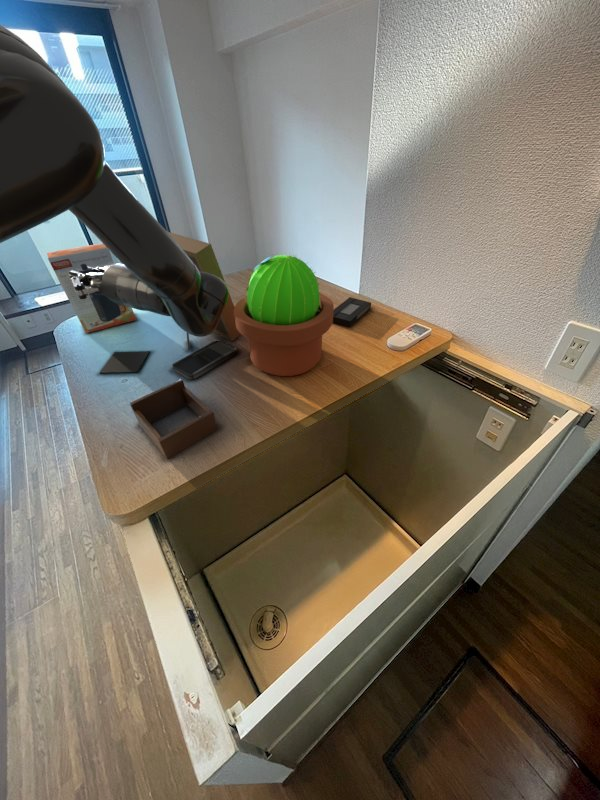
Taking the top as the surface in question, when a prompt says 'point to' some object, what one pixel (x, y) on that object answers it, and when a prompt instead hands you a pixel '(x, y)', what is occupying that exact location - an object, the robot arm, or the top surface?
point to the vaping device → (102, 302)
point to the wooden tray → (166, 403)
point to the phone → (204, 359)
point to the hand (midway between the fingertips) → (79, 273)
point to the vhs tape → (350, 311)
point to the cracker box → (84, 307)
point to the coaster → (125, 362)
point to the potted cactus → (284, 316)
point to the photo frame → (208, 263)
